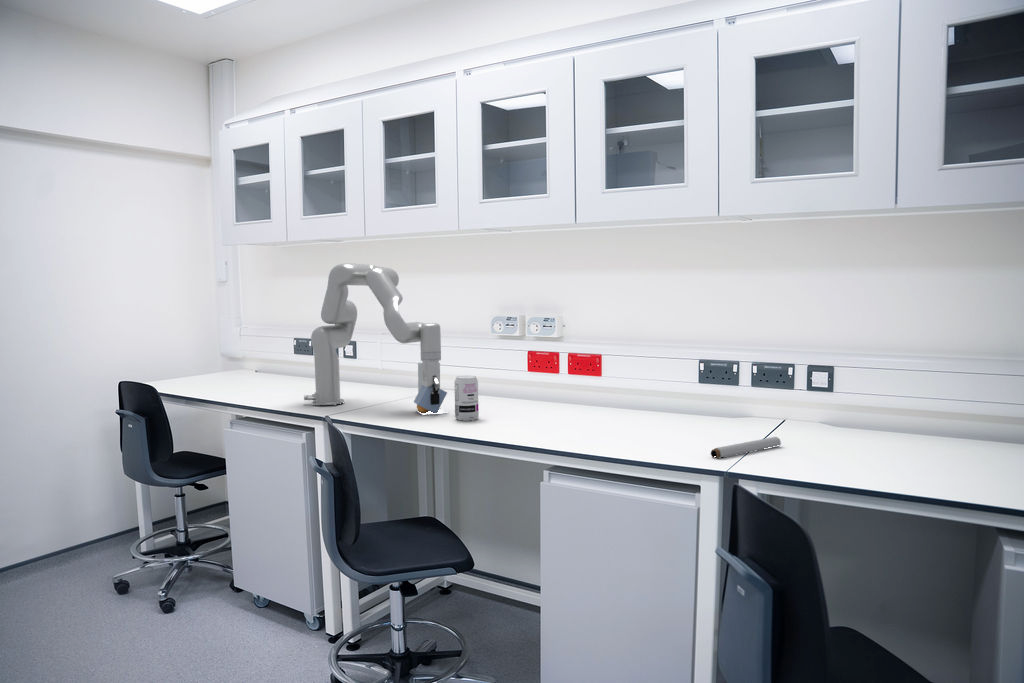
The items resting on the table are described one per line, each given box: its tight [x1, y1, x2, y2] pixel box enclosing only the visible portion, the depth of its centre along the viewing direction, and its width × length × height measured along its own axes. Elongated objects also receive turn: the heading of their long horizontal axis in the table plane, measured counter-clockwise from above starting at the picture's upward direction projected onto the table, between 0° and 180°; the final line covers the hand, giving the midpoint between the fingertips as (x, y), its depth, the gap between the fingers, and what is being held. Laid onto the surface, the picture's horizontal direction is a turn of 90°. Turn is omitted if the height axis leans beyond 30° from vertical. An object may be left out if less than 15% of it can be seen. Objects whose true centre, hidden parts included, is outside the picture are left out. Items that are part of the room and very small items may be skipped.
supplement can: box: [454, 375, 479, 422], centre depth 232 cm, size 8×8×15 cm
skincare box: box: [417, 361, 441, 393], centre depth 283 cm, size 8×6×15 cm
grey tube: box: [710, 436, 782, 459], centre depth 182 cm, size 3×3×25 cm
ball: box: [416, 404, 429, 413], centre depth 245 cm, size 5×5×5 cm
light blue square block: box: [413, 385, 448, 413], centre depth 246 cm, size 8×8×9 cm
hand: (431, 402), depth 247 cm, fingers open, 8 cm apart
